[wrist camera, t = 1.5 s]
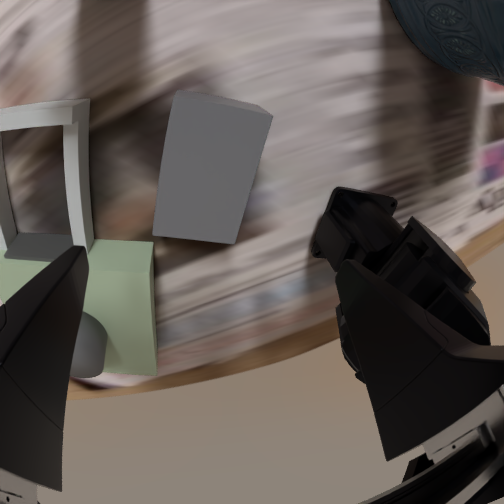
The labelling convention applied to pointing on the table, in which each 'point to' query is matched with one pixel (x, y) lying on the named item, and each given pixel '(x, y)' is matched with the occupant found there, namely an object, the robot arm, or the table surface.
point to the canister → (457, 34)
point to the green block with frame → (98, 252)
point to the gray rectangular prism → (208, 166)
